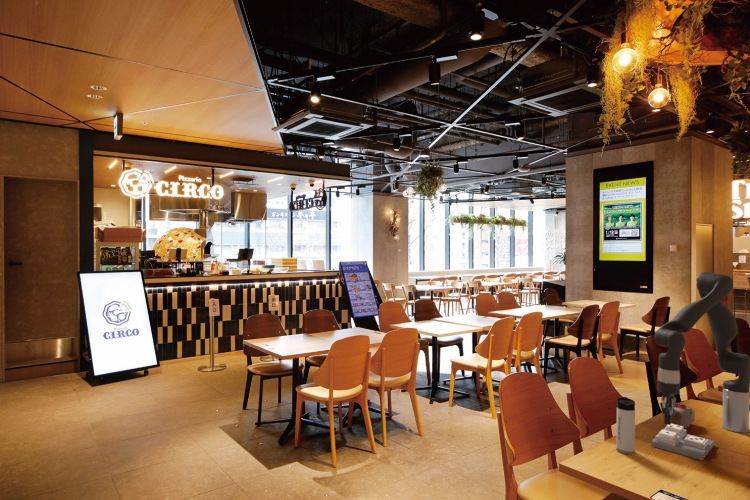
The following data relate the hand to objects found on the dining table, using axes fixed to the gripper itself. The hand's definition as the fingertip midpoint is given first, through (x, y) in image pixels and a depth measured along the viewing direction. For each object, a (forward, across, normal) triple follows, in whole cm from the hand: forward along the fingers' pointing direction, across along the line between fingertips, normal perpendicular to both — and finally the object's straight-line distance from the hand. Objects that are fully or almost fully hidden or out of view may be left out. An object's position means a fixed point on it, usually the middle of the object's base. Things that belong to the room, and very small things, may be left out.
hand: (667, 423), depth 185 cm
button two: (+6, -10, 0) cm, 12 cm away
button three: (+7, -5, +8) cm, 12 cm away
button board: (+9, -5, +4) cm, 11 cm away
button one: (+6, 0, 0) cm, 6 cm away
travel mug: (+10, +17, -10) cm, 22 cm away
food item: (+9, -30, -3) cm, 31 cm away
